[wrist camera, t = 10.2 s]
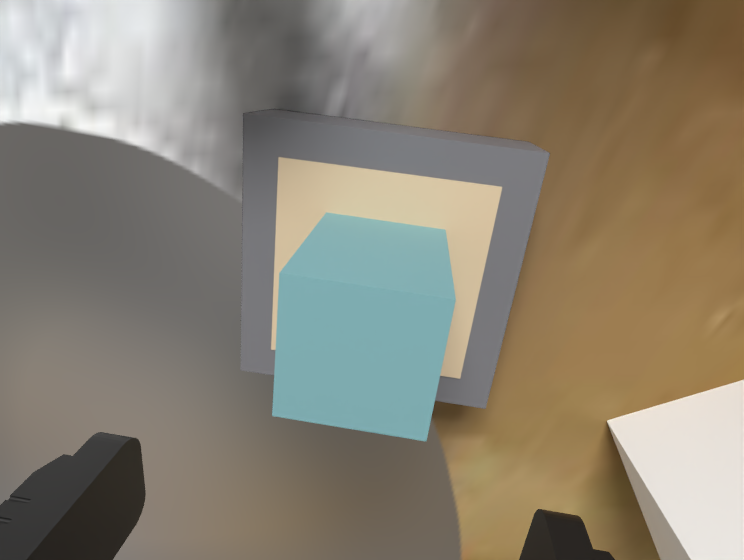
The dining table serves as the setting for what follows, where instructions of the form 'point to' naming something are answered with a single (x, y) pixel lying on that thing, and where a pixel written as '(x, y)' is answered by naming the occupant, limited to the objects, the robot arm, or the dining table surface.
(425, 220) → the plinth
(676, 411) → the milk
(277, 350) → the teal block
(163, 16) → the dining table surface
